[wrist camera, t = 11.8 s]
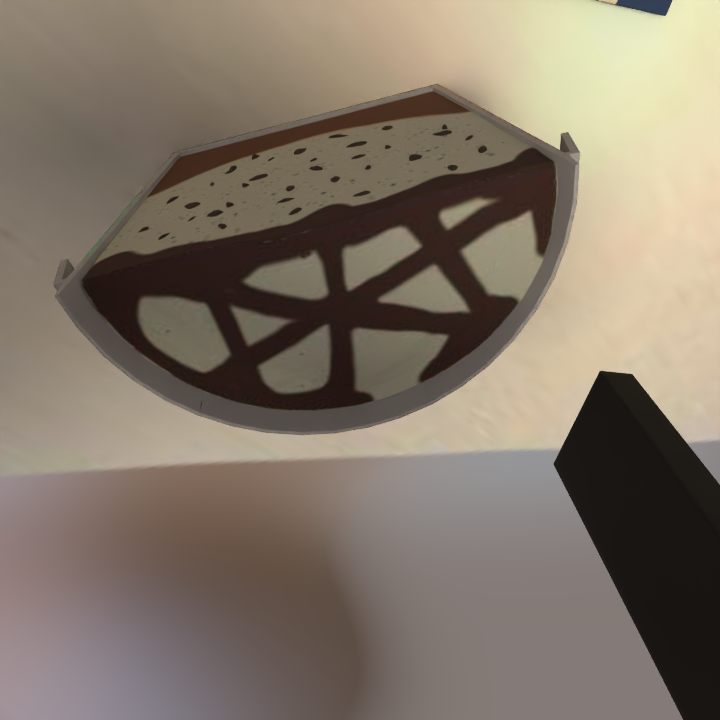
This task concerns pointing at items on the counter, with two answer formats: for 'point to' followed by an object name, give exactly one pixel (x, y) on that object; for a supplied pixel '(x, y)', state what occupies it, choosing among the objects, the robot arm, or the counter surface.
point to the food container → (330, 264)
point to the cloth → (644, 5)
